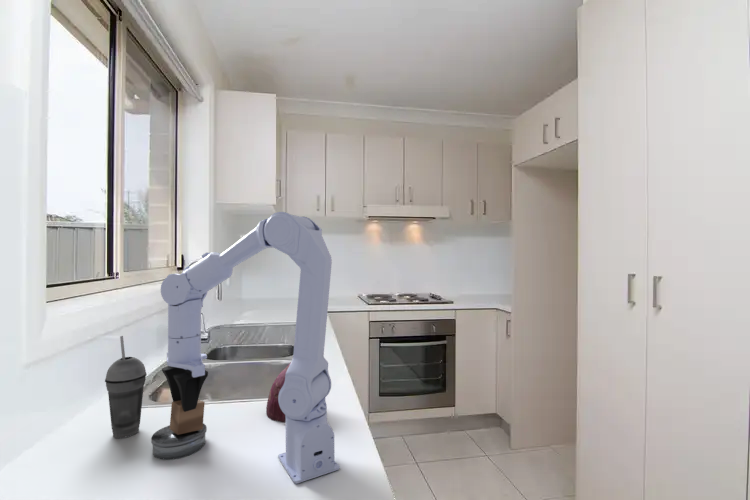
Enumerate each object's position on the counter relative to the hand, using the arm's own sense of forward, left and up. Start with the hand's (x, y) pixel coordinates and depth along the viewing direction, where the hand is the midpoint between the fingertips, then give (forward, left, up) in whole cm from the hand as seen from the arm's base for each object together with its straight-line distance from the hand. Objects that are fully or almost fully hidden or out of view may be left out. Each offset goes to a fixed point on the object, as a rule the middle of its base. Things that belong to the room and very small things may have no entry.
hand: (184, 405), depth 72 cm
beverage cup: (+12, +10, -8) cm, 17 cm away
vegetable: (+4, -22, -8) cm, 24 cm away
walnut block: (0, 0, -4) cm, 4 cm away
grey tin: (0, +1, -8) cm, 8 cm away
